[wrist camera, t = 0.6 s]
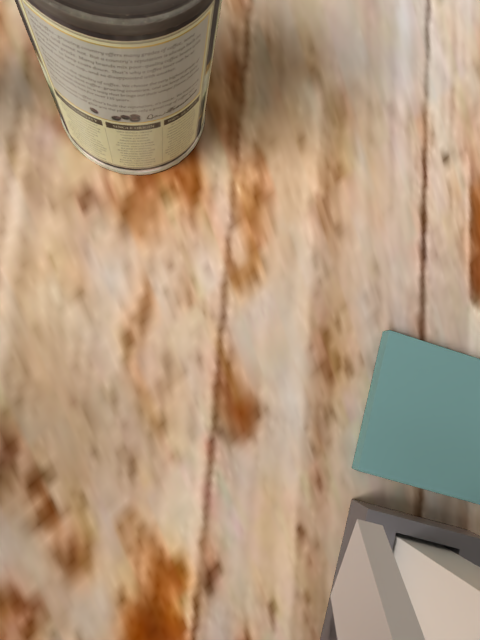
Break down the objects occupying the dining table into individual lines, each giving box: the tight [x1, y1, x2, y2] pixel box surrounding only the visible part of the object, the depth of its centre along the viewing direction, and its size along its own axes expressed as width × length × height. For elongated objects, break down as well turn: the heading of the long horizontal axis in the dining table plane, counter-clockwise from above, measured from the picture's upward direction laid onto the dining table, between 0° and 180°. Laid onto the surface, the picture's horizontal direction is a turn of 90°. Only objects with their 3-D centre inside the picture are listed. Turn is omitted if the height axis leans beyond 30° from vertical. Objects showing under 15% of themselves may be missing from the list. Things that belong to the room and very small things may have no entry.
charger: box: [392, 532, 480, 640], centre depth 25 cm, size 5×4×12 cm
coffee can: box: [15, 0, 222, 175], centre depth 26 cm, size 10×10×14 cm
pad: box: [352, 330, 480, 505], centre depth 33 cm, size 10×10×1 cm
